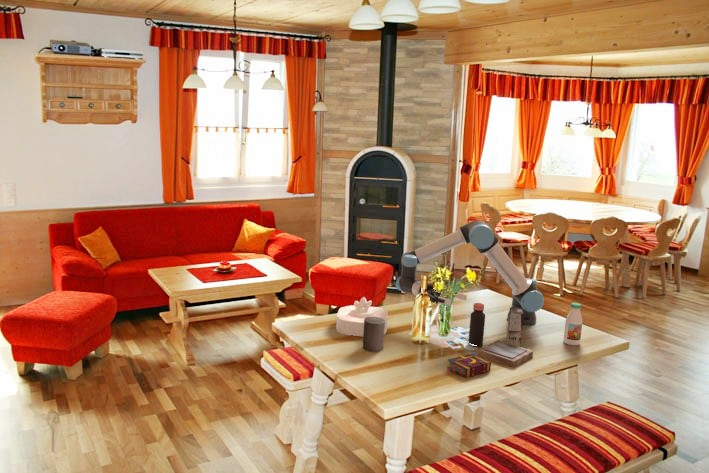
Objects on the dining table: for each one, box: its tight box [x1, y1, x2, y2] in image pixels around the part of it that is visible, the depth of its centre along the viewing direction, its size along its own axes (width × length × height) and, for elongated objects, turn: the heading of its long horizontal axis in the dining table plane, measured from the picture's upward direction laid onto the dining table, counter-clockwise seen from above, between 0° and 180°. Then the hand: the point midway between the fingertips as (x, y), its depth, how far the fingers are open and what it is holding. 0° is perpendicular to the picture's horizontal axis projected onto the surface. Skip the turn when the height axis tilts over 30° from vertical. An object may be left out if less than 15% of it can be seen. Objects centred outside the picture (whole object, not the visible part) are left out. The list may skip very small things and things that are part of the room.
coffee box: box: [506, 307, 524, 347], centre depth 300 cm, size 9×6×16 cm
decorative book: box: [446, 352, 492, 379], centre depth 266 cm, size 11×16×5 cm
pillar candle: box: [362, 316, 385, 353], centre depth 285 cm, size 10×10×15 cm
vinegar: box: [467, 302, 486, 348], centre depth 294 cm, size 7×7×20 cm
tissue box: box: [335, 296, 389, 337], centre depth 311 cm, size 25×25×16 cm
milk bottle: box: [563, 302, 583, 346], centre depth 302 cm, size 8×8×20 cm
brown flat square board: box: [477, 339, 534, 368], centre depth 283 cm, size 18×18×3 cm
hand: (458, 300), depth 299 cm, fingers open, 13 cm apart
